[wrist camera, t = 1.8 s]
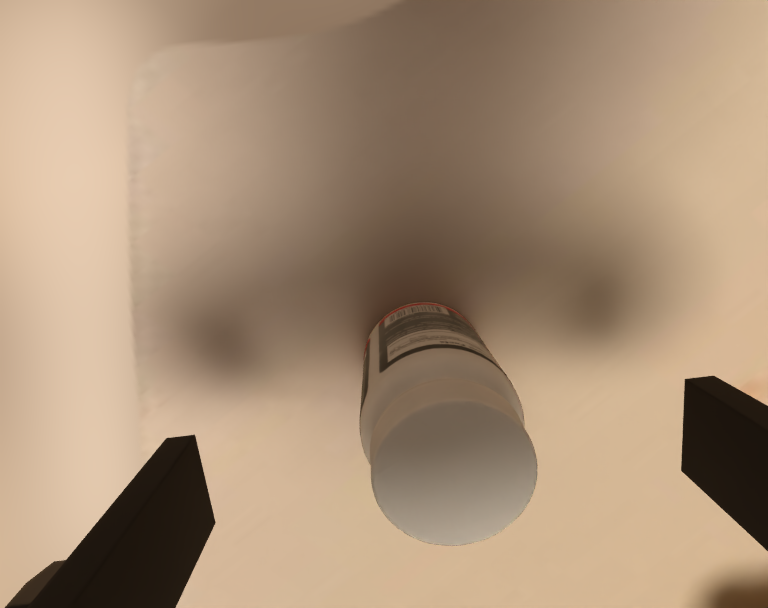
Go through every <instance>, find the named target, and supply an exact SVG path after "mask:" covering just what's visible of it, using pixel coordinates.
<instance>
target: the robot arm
mask: <svg viewBox="0 0 768 608" xmlns="http://www.w3.org/2000/svg"><path fill="white" fill-rule="evenodd" d="M681 471H682V472H683V473H684V474H685V475H687V476H688V477H689V478H690V479H691V480H692V481H693V482H694V483H695V484H696V485H697V486H698V487H699V488H701V489H702V490H703V491H704V492H705V493H706V494H707V495H708V496H709V497H710V498H711V499H712V500H713V501H714V502H716V503H717V504H718V505H719V506H720V507H721V508H722V509H723V510H724V511H725V512H726V513H727V514H728V515H730V516H731V517H732V518H733V519H734V520H735V521H736V522H737V523H738V524H739V525H740V526H741V527H742V528H744V529H745V530H746V531H747V532H748V533H749V534H750V535H751V536H752V537H753V538H754V539H755V540H756V541H757V542H759V543H760V544H761V545H762V546H763V547H764V548H765V549H766V550H767V551H768V406H767V405H765V404H763V403H761V402H760V401H758V400H756V399H754V398H753V397H751V396H749V395H747V394H745V393H744V392H742V391H740V390H738V389H736V388H735V387H733V386H731V385H729V384H728V383H726V382H724V381H722V380H720V379H719V378H717V377H715V376H708V377H699V378H690V379H685V391H684V416H683V441H682V466H681ZM214 525H215V519H214V515H213V510H212V506H211V502H210V497H209V493H208V489H207V485H206V480H205V476H204V472H203V467H202V463H201V459H200V455H199V450H198V446H197V442H196V437H195V435H190V436H181V437H173V438H166V440H165V441H164V442H163V443H162V444H161V446H160V447H159V448H158V449H157V450H156V452H155V453H154V454H153V455H152V457H151V458H150V459H149V460H148V461H147V463H146V464H145V465H144V466H143V467H142V469H141V470H140V471H139V472H138V474H137V475H136V476H135V477H134V479H133V480H132V481H131V482H130V483H129V484H128V486H127V487H126V488H125V489H124V491H123V492H122V493H121V494H120V495H119V497H118V498H117V499H116V500H115V502H114V503H113V504H112V505H111V506H110V508H109V509H108V510H107V511H106V513H105V514H104V515H103V516H102V517H101V518H100V520H99V521H98V522H97V523H96V524H95V526H94V527H93V528H92V529H91V531H90V532H89V533H88V534H87V536H86V537H85V538H84V539H83V540H82V541H81V543H80V544H79V545H78V546H77V548H76V549H75V550H74V551H73V552H72V554H71V555H70V556H69V557H68V559H67V560H64V561H56V562H53V563H52V564H50V565H49V566H48V567H46V568H45V569H44V570H43V571H41V572H40V573H39V574H37V575H36V576H35V577H34V578H32V579H31V580H30V581H28V582H27V583H26V584H25V585H24V586H23V588H22V589H21V590H20V591H19V592H18V593H17V594H16V596H15V597H14V598H13V599H12V600H11V601H10V602H9V603H8V605H7V606H6V607H5V608H175V607H176V605H177V603H178V601H179V599H180V597H181V595H182V593H183V590H184V588H185V586H186V584H187V582H188V580H189V578H190V576H191V574H192V571H193V569H194V567H195V565H196V563H197V561H198V559H199V557H200V555H201V552H202V550H203V548H204V546H205V544H206V542H207V540H208V538H209V535H210V533H211V531H212V529H213V527H214Z"/></svg>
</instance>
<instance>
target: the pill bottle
mask: <svg viewBox="0 0 768 608" xmlns="http://www.w3.org/2000/svg"><path fill="white" fill-rule="evenodd" d="M360 436H361V442H362V446H363V449H364V452H365V455H366V457H367V459H368V461H369V463H370V465H371V482H372V488H373V492H374V495H375V498H376V500H377V503H378V505H379V507H380V509H381V510H382V512H383V513H384V514H385V516H386V517H387V518H388V519H389V520H390V521H391V523H392V524H394V525H395V526H396V527H397V528H398V529H400V530H401V531H403V532H404V533H406V534H407V535H409V536H411V537H413V538H416V539H418V540H420V541H423V542H426V543H430V544H437V545H447V546H459V545H466V544H471V543H475V542H479V541H482V540H485V539H488V538H490V537H492V536H494V535H496V534H497V533H499V532H501V531H503V530H504V529H505V528H507V527H508V526H509V525H510V524H511V523H513V522H514V521H515V520H516V519H517V518H518V517H519V515H520V514H521V513H522V512H523V510H524V509H525V508H526V506H527V504H528V503H529V501H530V499H531V497H532V494H533V492H534V489H535V485H536V480H537V459H536V454H535V450H534V447H533V444H532V441H531V439H530V437H529V435H528V434H527V432H526V430H525V428H524V414H523V409H522V406H521V402H520V400H519V397H518V395H517V393H516V391H515V389H514V387H513V385H512V383H511V382H510V380H509V379H508V377H507V376H506V374H505V373H504V372H503V370H502V369H501V367H500V366H499V364H498V363H497V362H496V360H495V359H494V357H493V356H492V354H491V353H490V352H489V350H488V349H487V347H486V346H485V344H484V343H483V341H482V340H481V338H480V337H479V335H478V334H477V332H476V331H475V329H474V328H473V327H472V325H471V324H470V323H469V322H468V321H467V320H466V319H465V318H464V317H463V316H462V315H460V314H459V313H458V312H456V311H455V310H453V309H451V308H449V307H447V306H444V305H441V304H437V303H430V302H418V303H411V304H407V305H404V306H401V307H399V308H397V309H395V310H393V311H392V312H390V313H389V314H387V315H386V316H385V317H384V318H382V320H381V321H380V322H379V323H378V324H377V325H376V326H375V328H374V329H373V331H372V332H371V334H370V336H369V338H368V341H367V344H366V348H365V353H364V365H363V382H362V396H361V410H360Z"/></svg>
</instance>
